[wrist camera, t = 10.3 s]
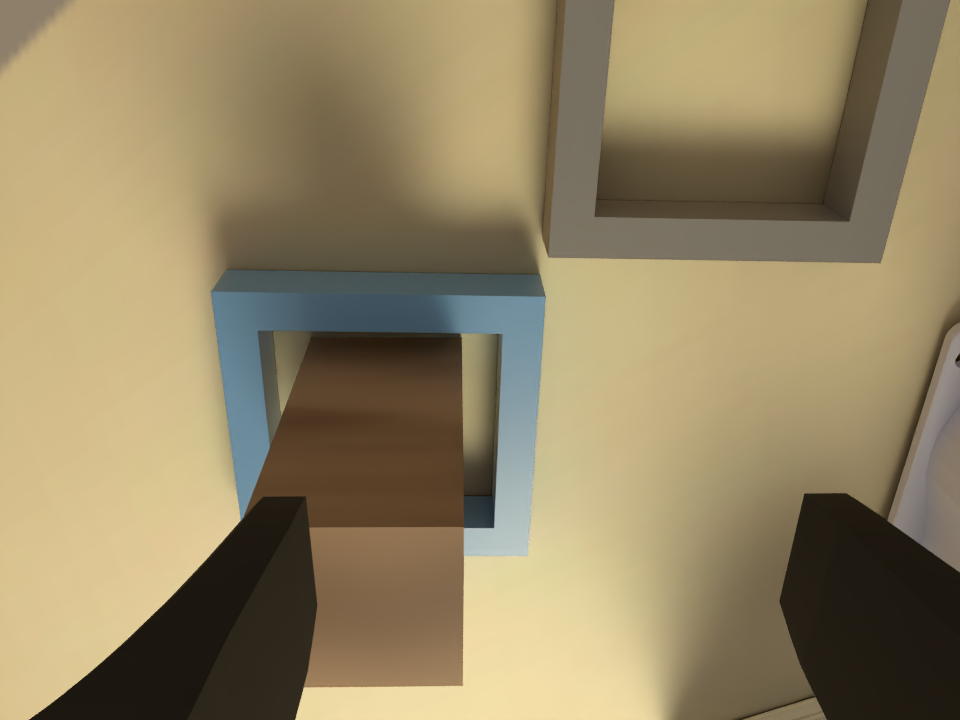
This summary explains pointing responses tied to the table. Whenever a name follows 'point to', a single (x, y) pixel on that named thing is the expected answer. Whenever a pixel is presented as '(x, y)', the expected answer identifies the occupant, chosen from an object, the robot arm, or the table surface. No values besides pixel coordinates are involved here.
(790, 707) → the small box
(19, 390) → the table surface
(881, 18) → the frame
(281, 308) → the blue rim cradle
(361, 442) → the walnut peg
